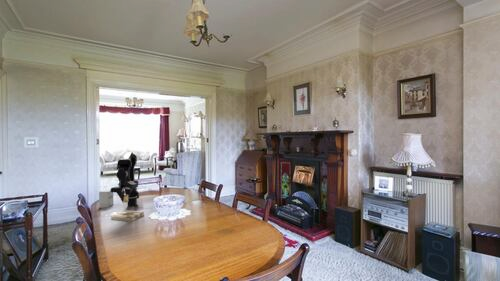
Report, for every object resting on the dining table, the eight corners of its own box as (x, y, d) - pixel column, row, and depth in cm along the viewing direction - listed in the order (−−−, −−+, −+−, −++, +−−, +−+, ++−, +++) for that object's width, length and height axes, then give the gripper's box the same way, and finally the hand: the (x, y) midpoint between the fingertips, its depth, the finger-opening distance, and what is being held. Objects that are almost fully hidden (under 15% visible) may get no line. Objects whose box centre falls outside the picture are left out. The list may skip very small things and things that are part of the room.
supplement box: (108, 207, 190) (108, 191, 190) (98, 208, 190) (98, 191, 190) (113, 205, 197) (113, 189, 197) (104, 205, 197) (104, 189, 197)
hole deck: (127, 213, 174) (127, 210, 174) (144, 215, 171) (143, 211, 171) (111, 220, 161) (111, 216, 161) (129, 222, 157) (129, 217, 157)
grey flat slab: (114, 213, 177) (114, 211, 177) (122, 213, 175) (122, 212, 175) (103, 217, 168) (103, 215, 168) (112, 217, 166) (112, 216, 166)
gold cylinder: (124, 200, 169) (124, 193, 169) (129, 201, 168) (129, 193, 168) (120, 202, 165) (120, 194, 165) (125, 202, 164) (125, 195, 164)
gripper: (123, 179, 155) (124, 204, 155) (144, 175, 173) (144, 197, 173) (109, 179, 158) (110, 203, 158) (131, 175, 176) (131, 196, 176)
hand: (125, 200), depth 166 cm, fingers closed on gold cylinder, 4 cm apart
